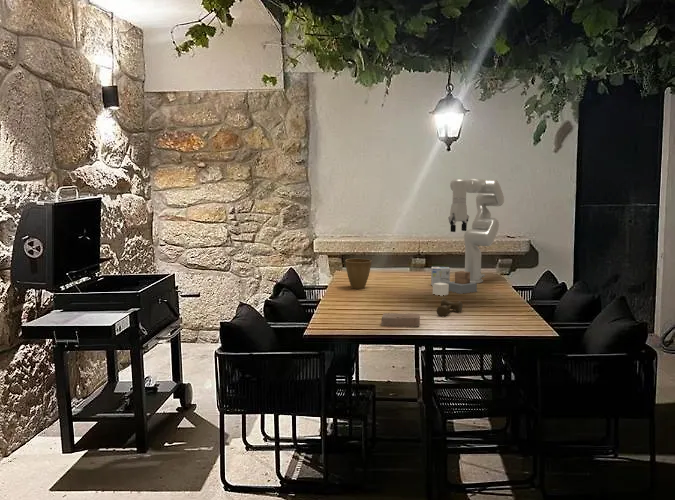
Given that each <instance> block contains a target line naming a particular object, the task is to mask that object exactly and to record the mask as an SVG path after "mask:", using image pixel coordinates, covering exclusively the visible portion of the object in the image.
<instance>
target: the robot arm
mask: <svg viewBox="0 0 675 500" xmlns="http://www.w3.org/2000/svg"><path fill="white" fill-rule="evenodd" d="M449 184H450V185H449V187H450V190H451V191H452V204H451V205H450V213H449V216H448V219H447V220H448V223H449V225H450V233H456V229H457V228H456V227H457V225H456V224H457V222H461V231H462V232H464V234H463V238H464V239H463V240H464V248H465V249H464V252H465V253H464V254H465V255H464V271H465V272H470V282H472V283H477V284H479V283H480V284H481V283H483V282H484V279H482V278H485V276H486V275H485V273H482V250H481V249H480V247H479V246H481V247H489V246H491V245H492V244H493V243H494V241H495V239H496V236H497V234H498V231H499V229H500V224H499V223H500V222H499V220H498V219H497V218H496V217H492V213H491V211H490V210H489V208H488V207H501V206H503V204H504V202H505V195H504V193H503V190H502V186H501V184H500V183H499V182H498V180H496V179H490V178H489V179H488V178H487V179H486V178H485V179H483V178H482V179H481V178H453V179H452V180H451V181H450V183H449ZM467 193H469V194H477V195H476V196H475V197H476V198H475V203H476V205H475V206H476V210H477V211H476V212H477V213H476V215H475V216H474V219H473V221H472V223H471V228H470V229H467V228H468V226H467V225H468V222H469V219H470V216H469V215H468V208H467Z"/></svg>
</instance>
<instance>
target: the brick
mask: <svg viewBox="0 0 675 500" xmlns="http://www.w3.org/2000/svg"><path fill="white" fill-rule="evenodd" d="M420 319H421V315H420V313H413V312H411V313H395V312H391V313H390V312H388V313H387V312H384V313H383V314H382V316H381V321H380V323H381V324H380V326H382V327H404V326H415V327H416V326H417V327H419V326H420V325H421V320H420Z"/></svg>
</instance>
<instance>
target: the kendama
mask: <svg viewBox="0 0 675 500" xmlns="http://www.w3.org/2000/svg"><path fill="white" fill-rule="evenodd" d="M451 310H454V311H456V312H457V313H461V312H462V311H463V302H462V300H459V301H456V302H453V301H449V300H447V299H446V298H442V299H441V301H440V306H438V307H437V308H436V314H437V315H438V316H439V315H440V316H439V317H442V316H444V317H446V316H447V315H448V314H449V313H450V311H451Z"/></svg>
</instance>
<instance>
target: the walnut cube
mask: <svg viewBox="0 0 675 500" xmlns="http://www.w3.org/2000/svg"><path fill="white" fill-rule="evenodd" d="M454 281H455V283H459V284H467V283H470V272H465V270H463V271H462V270H460V271H455V272H454Z"/></svg>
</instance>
